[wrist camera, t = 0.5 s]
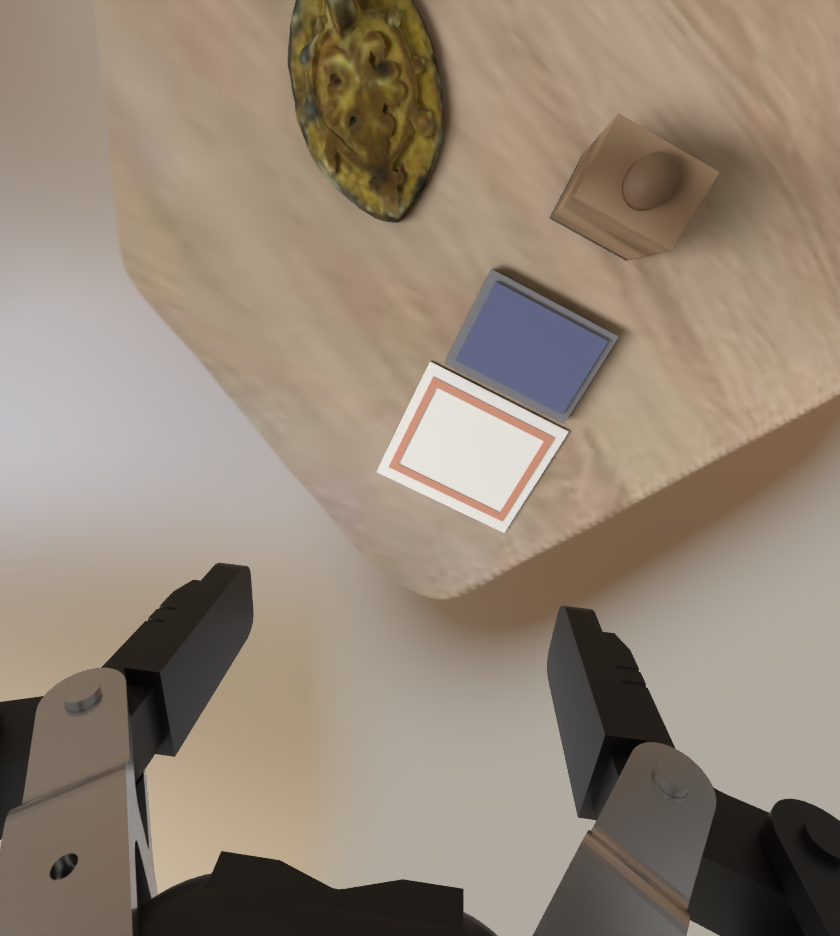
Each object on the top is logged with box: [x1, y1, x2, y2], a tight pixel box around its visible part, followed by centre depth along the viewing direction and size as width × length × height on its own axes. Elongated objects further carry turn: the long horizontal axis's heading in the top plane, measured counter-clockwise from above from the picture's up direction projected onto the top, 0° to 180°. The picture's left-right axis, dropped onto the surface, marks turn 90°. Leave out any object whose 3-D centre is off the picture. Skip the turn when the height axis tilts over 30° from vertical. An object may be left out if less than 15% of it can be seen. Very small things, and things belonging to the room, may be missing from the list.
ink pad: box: [445, 269, 618, 424], centre depth 33 cm, size 7×10×2 cm
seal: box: [288, 0, 444, 222], centre depth 28 cm, size 9×5×15 cm
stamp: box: [550, 114, 720, 260], centre depth 26 cm, size 4×6×8 cm, turn 64°
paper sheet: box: [377, 361, 569, 533], centre depth 37 cm, size 10×12×1 cm
